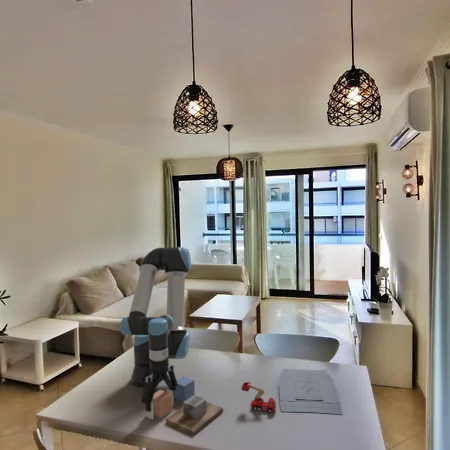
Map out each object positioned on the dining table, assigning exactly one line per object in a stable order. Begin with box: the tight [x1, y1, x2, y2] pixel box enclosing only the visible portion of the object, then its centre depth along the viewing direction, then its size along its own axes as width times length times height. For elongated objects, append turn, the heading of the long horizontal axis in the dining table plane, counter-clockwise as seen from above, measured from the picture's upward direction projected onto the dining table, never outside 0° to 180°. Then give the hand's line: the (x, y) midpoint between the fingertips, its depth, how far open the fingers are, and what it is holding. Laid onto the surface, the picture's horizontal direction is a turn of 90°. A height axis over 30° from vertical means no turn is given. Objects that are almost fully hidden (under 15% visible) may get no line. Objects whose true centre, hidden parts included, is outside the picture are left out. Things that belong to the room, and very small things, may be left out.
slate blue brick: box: [173, 375, 196, 403], centre depth 153 cm, size 6×6×7 cm
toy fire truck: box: [241, 381, 277, 413], centre depth 142 cm, size 3×14×10 cm, turn 71°
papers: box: [278, 368, 343, 415], centre depth 153 cm, size 24×30×4 cm
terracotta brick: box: [152, 389, 173, 419], centre depth 142 cm, size 6×6×7 cm
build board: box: [165, 395, 224, 436], centre depth 138 cm, size 14×18×6 cm
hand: (160, 411), depth 142 cm, fingers open, 10 cm apart
